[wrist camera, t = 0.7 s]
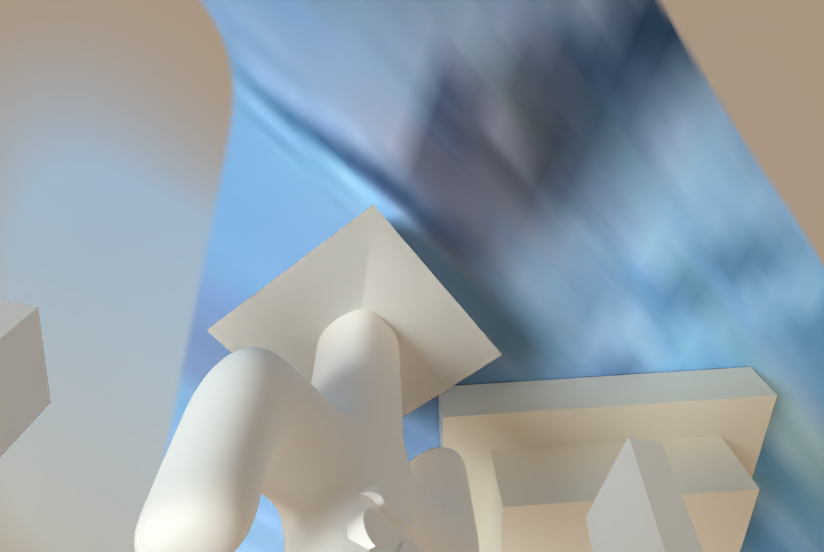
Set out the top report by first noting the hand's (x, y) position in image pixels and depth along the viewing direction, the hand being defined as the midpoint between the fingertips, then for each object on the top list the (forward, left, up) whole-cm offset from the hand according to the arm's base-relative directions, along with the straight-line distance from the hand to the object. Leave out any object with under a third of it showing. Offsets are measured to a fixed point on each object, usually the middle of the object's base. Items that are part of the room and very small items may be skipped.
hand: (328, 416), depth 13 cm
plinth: (+16, +10, -10) cm, 21 cm away
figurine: (+3, 0, -11) cm, 11 cm away
